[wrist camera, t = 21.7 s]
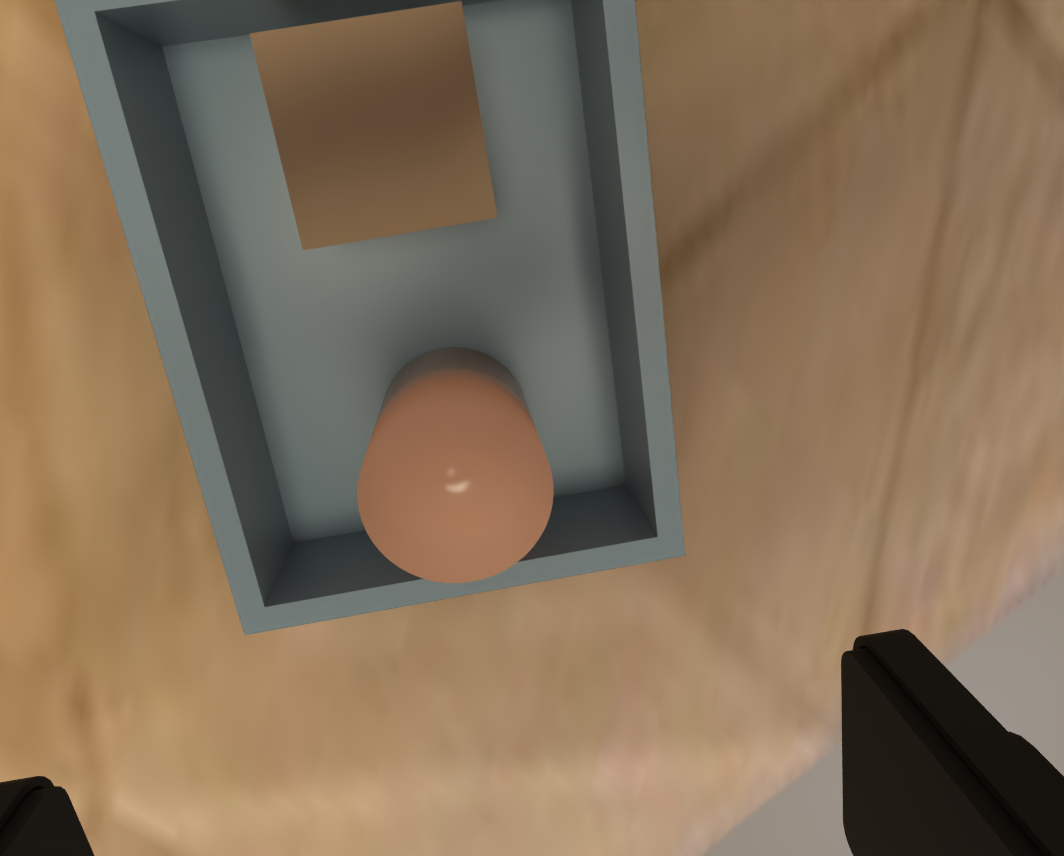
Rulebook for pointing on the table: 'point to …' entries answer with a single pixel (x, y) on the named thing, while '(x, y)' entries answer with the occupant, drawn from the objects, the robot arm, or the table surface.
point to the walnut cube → (377, 124)
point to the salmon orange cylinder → (454, 470)
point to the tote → (390, 290)
